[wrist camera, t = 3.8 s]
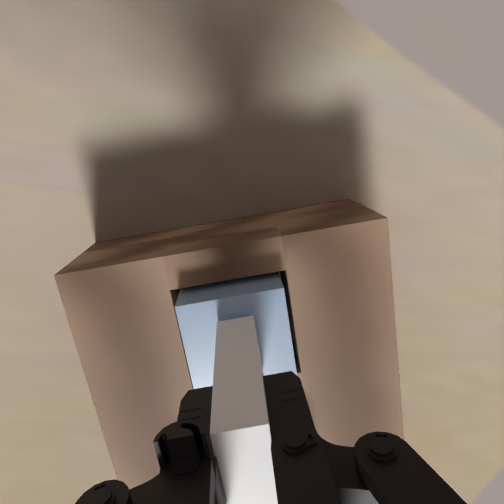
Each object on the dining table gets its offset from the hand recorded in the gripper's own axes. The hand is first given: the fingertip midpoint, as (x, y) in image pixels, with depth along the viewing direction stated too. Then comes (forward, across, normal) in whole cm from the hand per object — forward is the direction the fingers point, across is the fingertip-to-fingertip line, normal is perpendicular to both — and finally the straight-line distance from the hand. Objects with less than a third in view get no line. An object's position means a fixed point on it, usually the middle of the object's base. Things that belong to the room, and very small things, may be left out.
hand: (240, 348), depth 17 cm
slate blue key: (+3, 0, 0) cm, 3 cm away
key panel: (+7, 0, +8) cm, 11 cm away
